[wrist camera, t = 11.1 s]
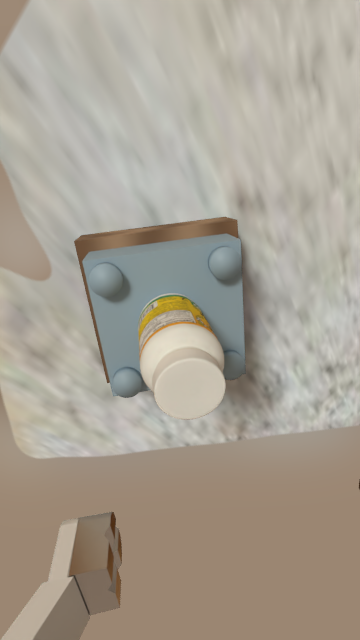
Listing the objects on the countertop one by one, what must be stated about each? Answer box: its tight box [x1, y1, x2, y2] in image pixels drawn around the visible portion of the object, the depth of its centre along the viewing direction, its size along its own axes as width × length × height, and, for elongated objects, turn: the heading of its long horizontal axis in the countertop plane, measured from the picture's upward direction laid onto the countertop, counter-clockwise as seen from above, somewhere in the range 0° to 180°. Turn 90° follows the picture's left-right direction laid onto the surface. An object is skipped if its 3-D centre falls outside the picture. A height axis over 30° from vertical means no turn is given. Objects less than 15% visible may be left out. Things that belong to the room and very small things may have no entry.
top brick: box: [82, 233, 246, 398], centre depth 28 cm, size 12×12×5 cm
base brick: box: [74, 217, 238, 383], centre depth 32 cm, size 14×14×4 cm
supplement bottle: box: [138, 293, 226, 420], centre depth 22 cm, size 5×5×10 cm
